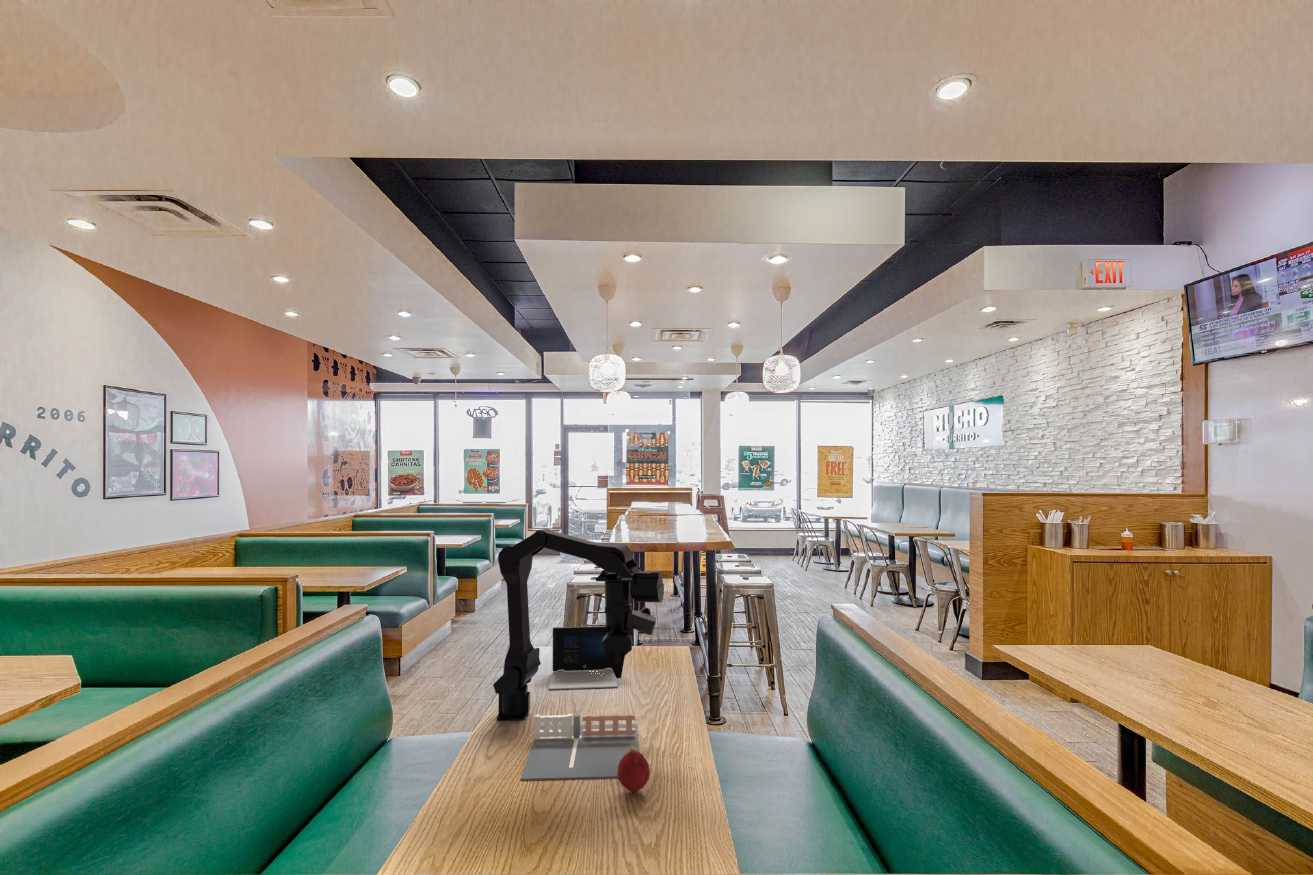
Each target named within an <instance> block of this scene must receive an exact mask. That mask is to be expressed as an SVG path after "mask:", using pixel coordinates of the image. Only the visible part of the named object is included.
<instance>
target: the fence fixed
mask: <svg viewBox="0 0 1313 875" xmlns="http://www.w3.org/2000/svg"><path fill="white" fill-rule="evenodd" d="M541 723H543V726H544V730H540V726H541ZM551 723H552V726H553V730H550V726H551ZM559 723H560V724H559ZM559 725H561V730H559ZM572 725H573V713H567V714H562V715H559V714H558V715H557V714H556V715H555V714H554V715H541V714H535V716H534V738H535V740H538V739H540V736H544V737H549V736H553V737H558V736H561V737H567V739H572Z"/></svg>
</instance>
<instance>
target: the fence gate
mask: <svg viewBox="0 0 1313 875" xmlns="http://www.w3.org/2000/svg"><path fill="white" fill-rule="evenodd" d="M635 720H636V713H626V714H625V713H622V714H621V713H620V714H618V713H613V714H604V713H603V714H583V715H582V722H585V725H586V729H583V736H584V735H586V736H591V735H599V736H605V735H613V736H618V735H632V734H635V728H632V724H633V721H635ZM606 721H608V722H610V721H612V724H613V729H605V724H606ZM619 721H625V724H626V728H621V729H618V724H619ZM592 722H598V725H599V729H591V725H592ZM572 725H573V737H574V738H579V737H580V725H581V715H580V714H578V713H575V714H574V715H573V723H572Z"/></svg>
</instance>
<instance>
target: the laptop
mask: <svg viewBox="0 0 1313 875" xmlns="http://www.w3.org/2000/svg"><path fill="white" fill-rule="evenodd" d="M606 634H607V632H605V625H601V626H600V625H599V626H598V625H597V626H592V625H591V626H563V627H562V626H560V627H559V626H558V627H553V628H552V672H551V673H552V674H551V678H550V683H549V685H548V690H549V691H550V690H551V691H554V690H555V691H557V690H581V689H583V690H584V689H585V690H586V689H587V688H589V689H612V688H613V689H614V688H618V687H619V686H618V678H616V677H615V674H614V672H613V670H612V668H611V665H610V663H609V661H608V659H607V657H606V655H605V653H604V651H602V641H603V637H604V636H605V635H606ZM589 671H591V672H589ZM592 671H594V672H592ZM596 671H598V672H596ZM591 673H592V674H591ZM595 673H596V674H595ZM597 673H598V674H597ZM599 673H600V674H599ZM603 673H604V674H603ZM601 675H602V676H601Z"/></svg>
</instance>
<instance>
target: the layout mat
mask: <svg viewBox="0 0 1313 875" xmlns="http://www.w3.org/2000/svg"><path fill="white" fill-rule="evenodd" d="M621 728H626V723H621V724H620V723H618V729H621ZM632 728H635V734H632V735H618V736H613V735H605V736H599V735H591V736H586V735H584V736H583V729H586V724H580V737H579V738H574V737H573V724H572V739H567V737H561V736H558V737H553V736H549V737H544V736H540V739H538V740H535V737H534V738H533V741H532V744H531V748H530V750H529V753H528V757H527V759H526V762H525V765H524V767H523V771H522V773H521V777H520V781H546V780H547V781H548V780H581V779H582V780H583V779H585V780H587V779H589V780H590V779H618V775H617V770H618V765H619V762H620V760H621V759H622V758H623V756H624V755H625V754H627V753H628V752H630V747H631V746H633V747H634V748H635V749H636V750H637V751H638V752H639V747H638V746H639V744H638V743H639V742H638V740H639V739H638V724H637V723H632ZM591 729H599V724H591ZM605 729H613V723H612V724H611V723H610V724H607V723H605ZM540 730H544V725H540ZM550 730H553V725H550ZM559 730H561V724H559Z"/></svg>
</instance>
